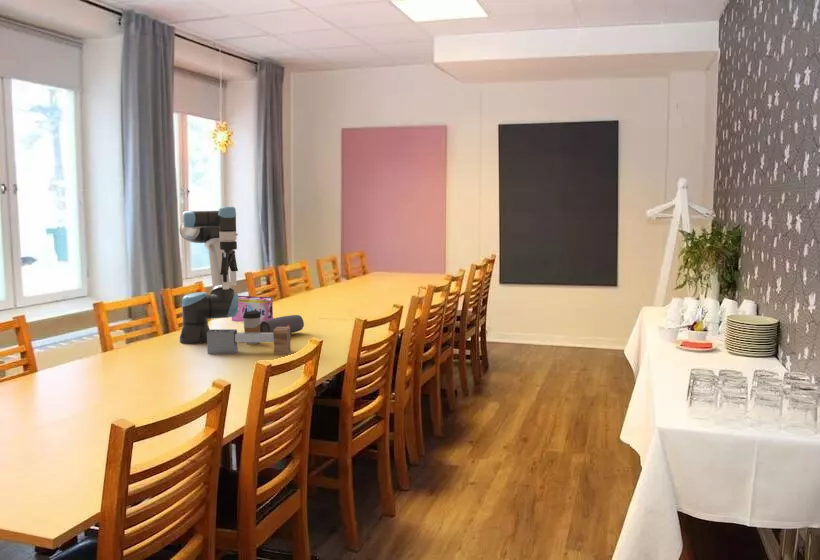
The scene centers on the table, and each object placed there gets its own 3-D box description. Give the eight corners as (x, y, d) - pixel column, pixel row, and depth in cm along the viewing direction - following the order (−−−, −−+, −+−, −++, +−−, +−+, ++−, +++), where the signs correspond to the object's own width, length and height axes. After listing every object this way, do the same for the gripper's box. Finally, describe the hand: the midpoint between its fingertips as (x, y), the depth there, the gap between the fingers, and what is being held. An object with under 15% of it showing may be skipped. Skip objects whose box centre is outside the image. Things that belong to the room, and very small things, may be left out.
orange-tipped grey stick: (229, 340, 328) (229, 332, 327) (284, 340, 327) (284, 332, 327) (227, 342, 324) (227, 334, 323) (283, 342, 324) (283, 333, 323)
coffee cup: (257, 345, 341) (256, 314, 339) (240, 344, 343) (239, 313, 341) (264, 342, 349) (263, 311, 348) (248, 341, 351) (247, 310, 349)
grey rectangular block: (211, 351, 329) (210, 329, 328) (237, 351, 329) (236, 329, 328) (207, 354, 323) (206, 332, 322) (234, 354, 323) (233, 332, 322)
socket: (277, 350, 330) (276, 326, 329) (290, 350, 330) (290, 326, 329) (274, 354, 322) (273, 330, 321) (287, 354, 322) (286, 330, 321)
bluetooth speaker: (271, 341, 351) (270, 321, 350) (258, 339, 357) (257, 319, 356) (305, 334, 369) (304, 314, 368) (292, 332, 375) (291, 312, 374)
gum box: (275, 321, 407) (275, 297, 405) (268, 323, 399) (267, 299, 398) (239, 318, 415) (238, 295, 414) (231, 321, 408) (230, 297, 406)
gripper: (229, 242, 316) (231, 290, 319) (242, 239, 341) (244, 283, 343) (212, 242, 316) (214, 290, 319) (227, 239, 341) (228, 283, 343)
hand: (229, 287), depth 331 cm, fingers open, 13 cm apart
